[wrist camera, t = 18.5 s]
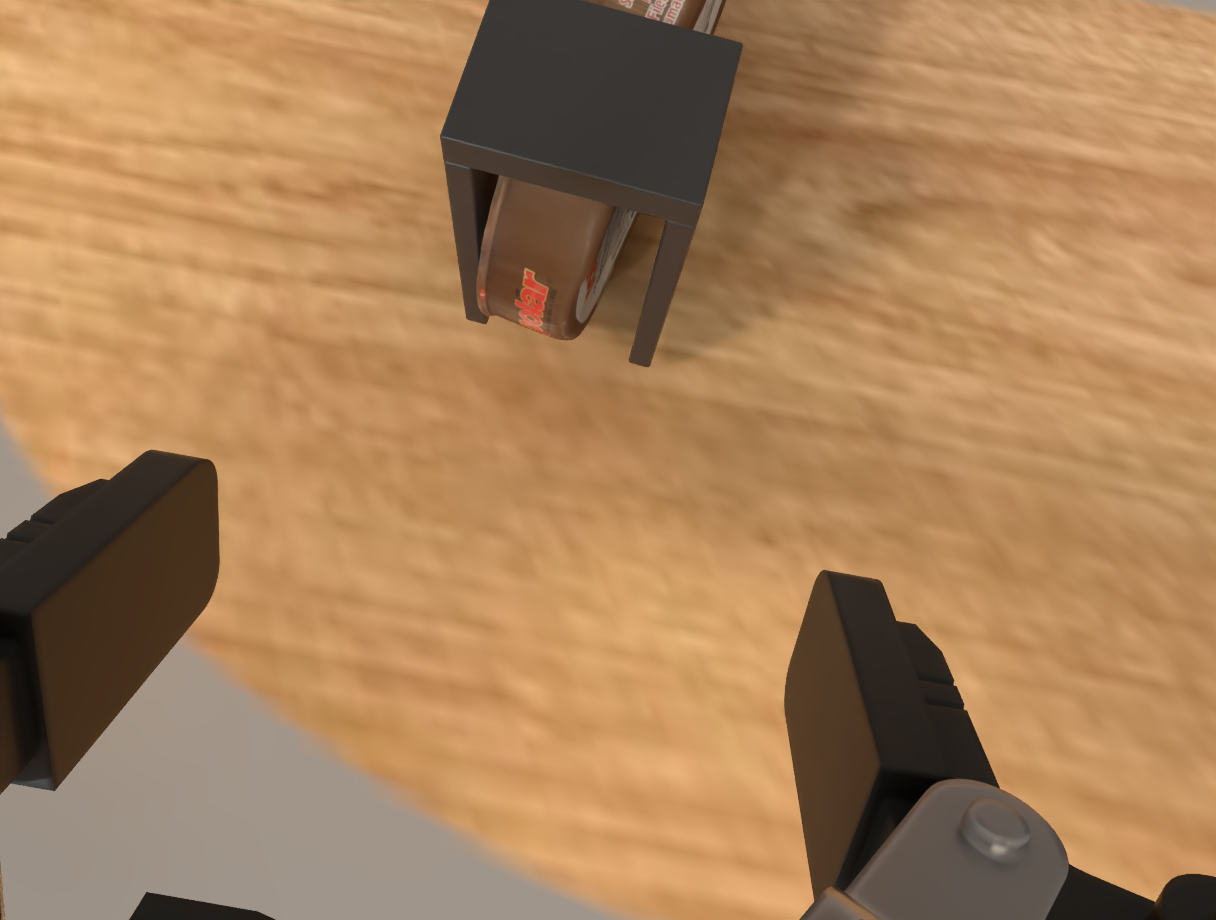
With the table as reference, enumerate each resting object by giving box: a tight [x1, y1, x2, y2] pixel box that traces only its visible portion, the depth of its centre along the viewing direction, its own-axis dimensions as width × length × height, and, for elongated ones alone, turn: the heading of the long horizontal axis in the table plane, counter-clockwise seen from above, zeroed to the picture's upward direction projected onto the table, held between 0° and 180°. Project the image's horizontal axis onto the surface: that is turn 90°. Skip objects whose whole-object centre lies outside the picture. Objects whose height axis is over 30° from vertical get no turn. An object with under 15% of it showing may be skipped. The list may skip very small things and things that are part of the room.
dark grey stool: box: [440, 0, 743, 367], centre depth 22 cm, size 5×4×8 cm
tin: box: [476, 0, 726, 340], centre depth 24 cm, size 15×3×8 cm, turn 159°
